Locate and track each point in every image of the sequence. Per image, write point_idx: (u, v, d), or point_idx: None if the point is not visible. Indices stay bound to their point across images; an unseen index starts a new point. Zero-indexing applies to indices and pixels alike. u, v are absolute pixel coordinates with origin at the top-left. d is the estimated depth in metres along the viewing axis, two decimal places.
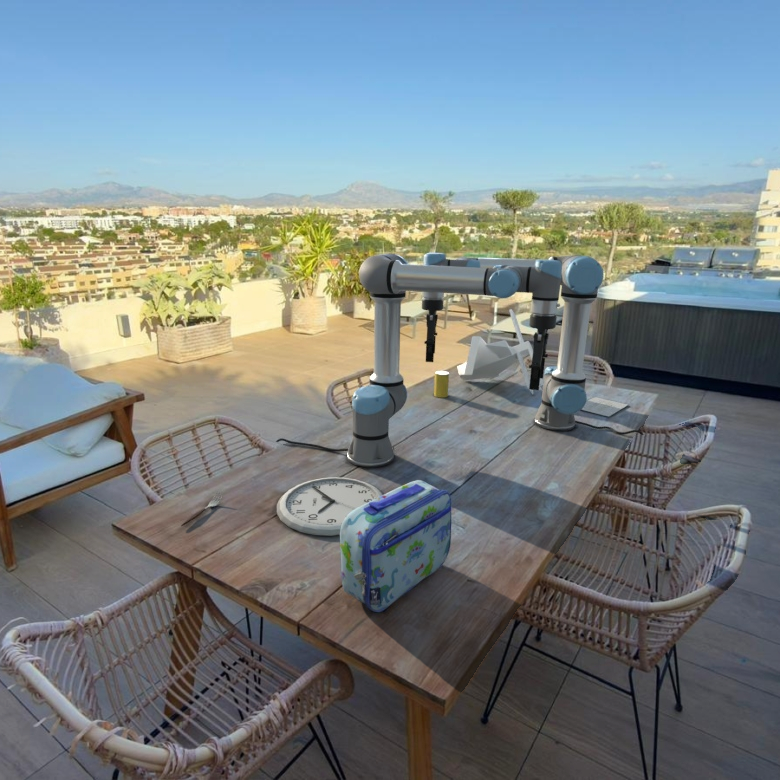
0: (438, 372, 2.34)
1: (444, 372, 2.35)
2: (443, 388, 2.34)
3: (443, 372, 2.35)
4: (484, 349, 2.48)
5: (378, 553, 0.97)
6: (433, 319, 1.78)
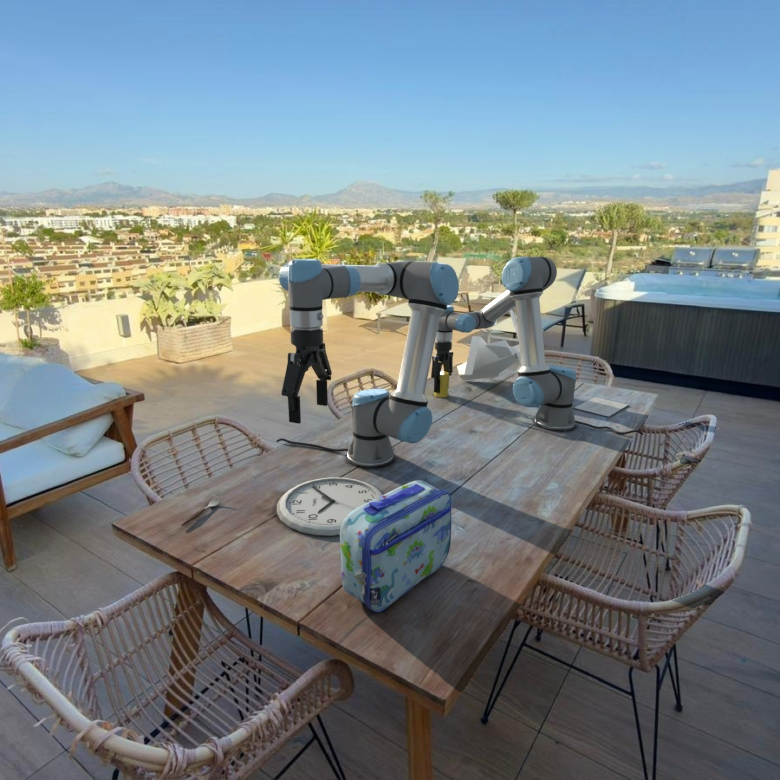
0: None
1: (444, 372, 2.35)
2: (443, 388, 2.34)
3: (443, 372, 2.35)
4: (484, 349, 2.48)
5: (378, 553, 0.97)
6: (435, 360, 2.27)
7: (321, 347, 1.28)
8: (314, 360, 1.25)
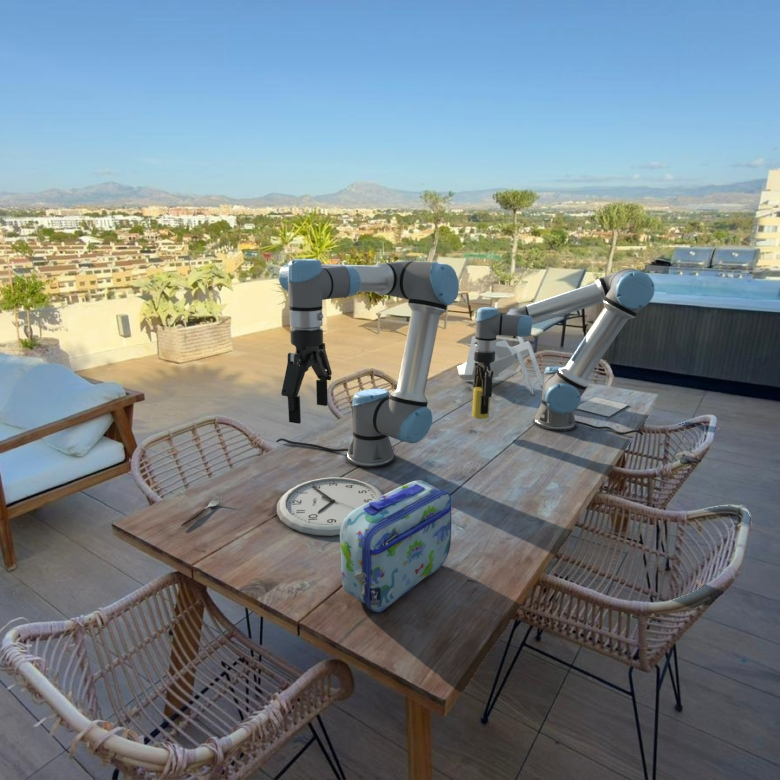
0: (480, 389, 1.93)
1: None
2: (488, 407, 1.95)
3: (481, 388, 1.95)
4: None
5: (378, 553, 0.97)
6: (491, 375, 1.86)
7: (321, 347, 1.28)
8: (314, 360, 1.25)
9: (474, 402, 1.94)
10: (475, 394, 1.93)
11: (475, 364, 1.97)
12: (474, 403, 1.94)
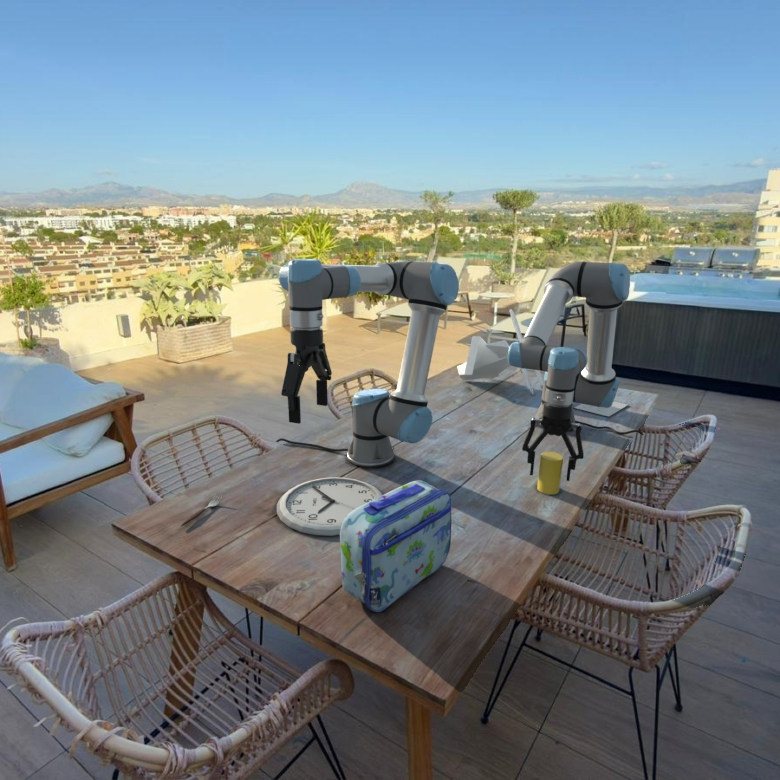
0: (555, 457, 1.49)
1: (547, 454, 1.51)
2: None
3: (548, 455, 1.51)
4: (484, 349, 2.48)
5: (378, 553, 0.97)
6: None
7: (321, 347, 1.28)
8: (314, 360, 1.25)
9: (552, 476, 1.49)
10: (555, 466, 1.48)
11: (533, 422, 1.48)
12: (552, 477, 1.49)
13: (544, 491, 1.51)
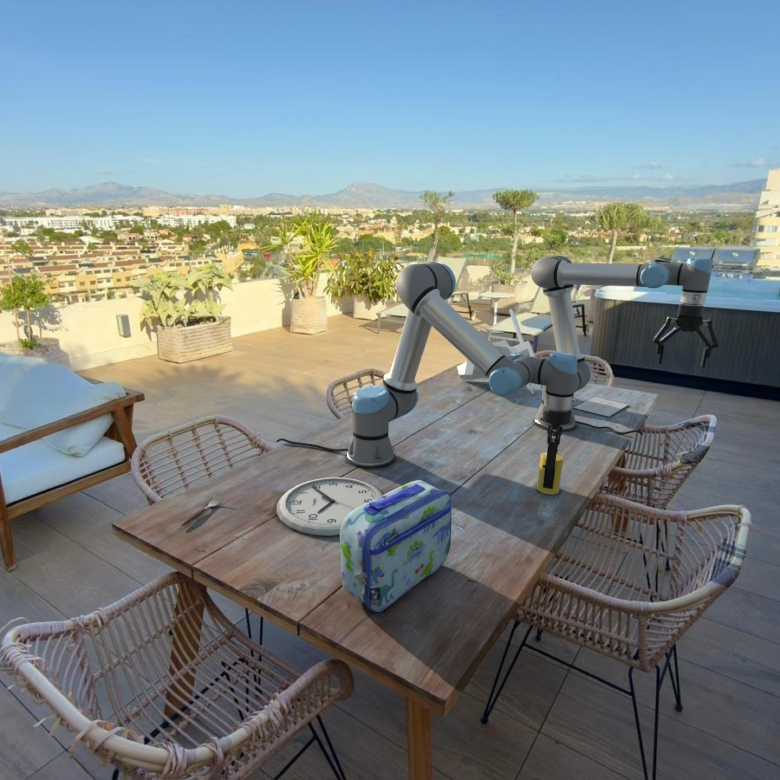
0: None
1: None
2: None
3: None
4: None
5: (378, 553, 0.97)
6: None
7: None
8: None
9: None
10: (555, 466, 1.48)
11: (670, 320, 1.81)
12: None
13: (544, 491, 1.51)
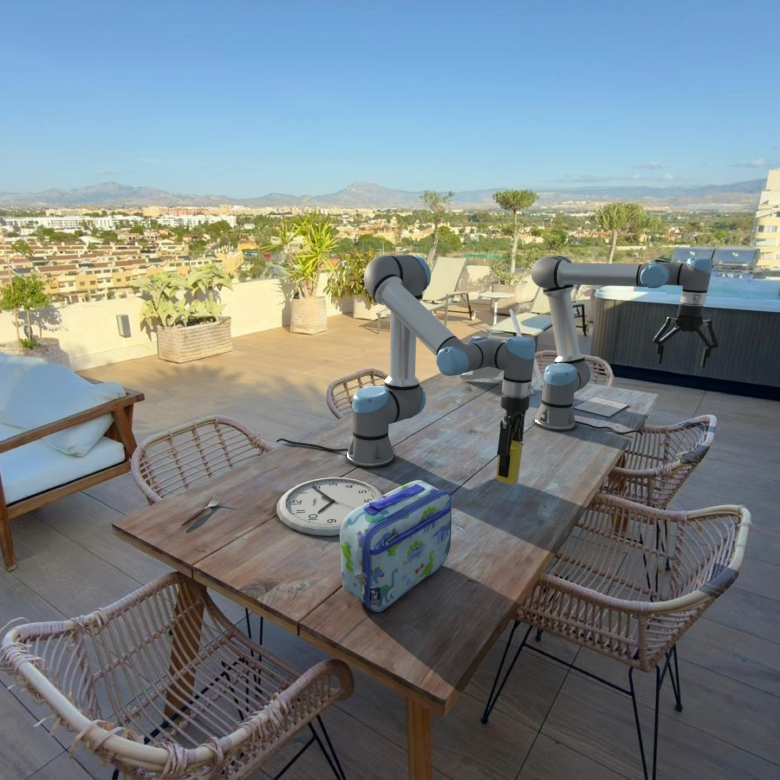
0: (513, 446, 1.45)
1: None
2: None
3: None
4: None
5: (378, 553, 0.97)
6: None
7: (522, 413, 1.48)
8: None
9: None
10: (510, 454, 1.44)
11: (670, 320, 1.81)
12: None
13: (500, 479, 1.47)
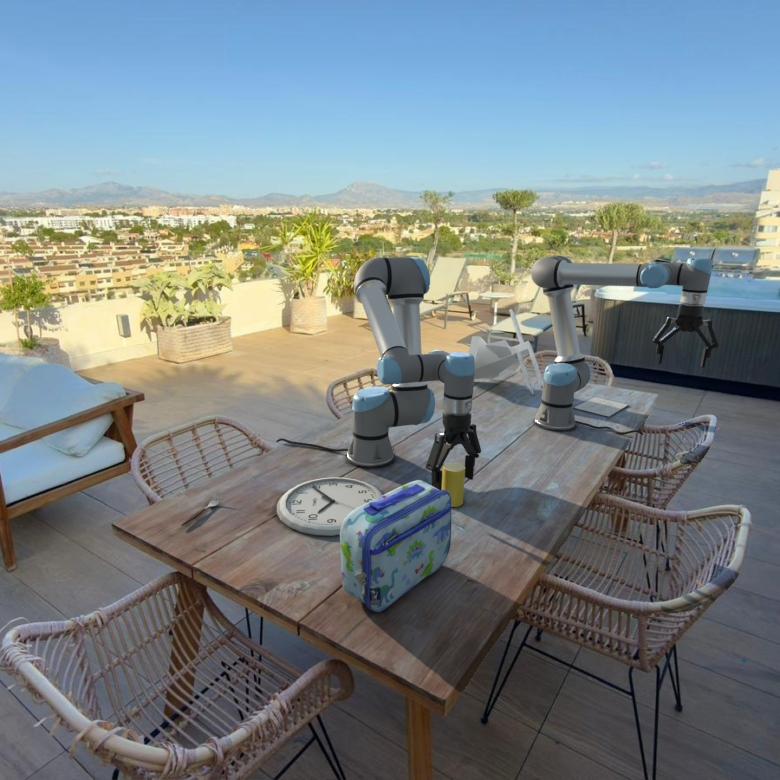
0: (454, 468, 1.41)
1: (451, 464, 1.44)
2: None
3: (451, 465, 1.44)
4: (484, 349, 2.48)
5: (378, 553, 0.97)
6: None
7: (472, 428, 1.43)
8: (462, 439, 1.40)
9: (448, 487, 1.42)
10: (449, 476, 1.41)
11: (670, 320, 1.81)
12: (448, 488, 1.42)
13: None
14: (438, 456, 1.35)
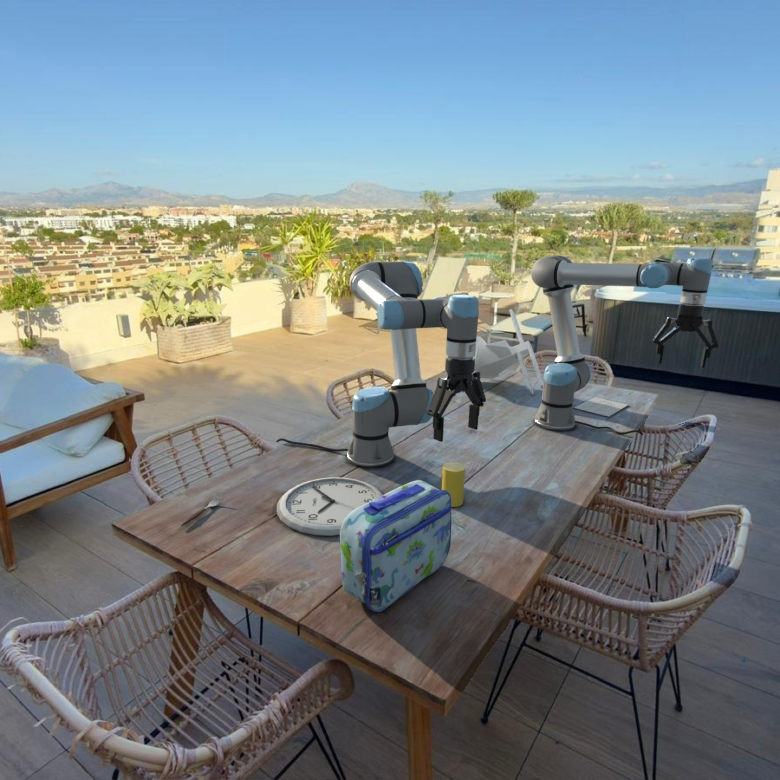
0: (454, 468, 1.41)
1: (451, 464, 1.44)
2: None
3: (451, 465, 1.44)
4: (484, 349, 2.48)
5: (378, 553, 0.97)
6: None
7: (475, 375, 1.38)
8: (465, 387, 1.36)
9: (448, 487, 1.42)
10: (449, 476, 1.41)
11: (670, 320, 1.81)
12: (448, 488, 1.42)
13: None
14: (440, 401, 1.31)
